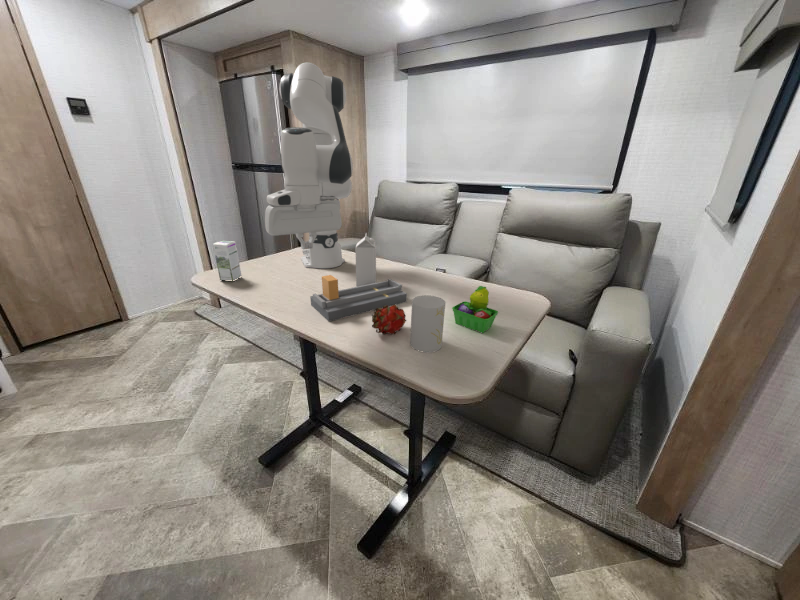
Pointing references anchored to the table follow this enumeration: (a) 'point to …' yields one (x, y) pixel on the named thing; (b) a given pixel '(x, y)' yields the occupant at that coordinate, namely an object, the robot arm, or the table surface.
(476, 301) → the fruit basket
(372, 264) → the milk carton
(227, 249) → the syrup box
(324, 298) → the fader
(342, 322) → the table surface
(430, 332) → the cup
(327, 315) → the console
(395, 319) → the dragon fruit
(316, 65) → the robot arm
